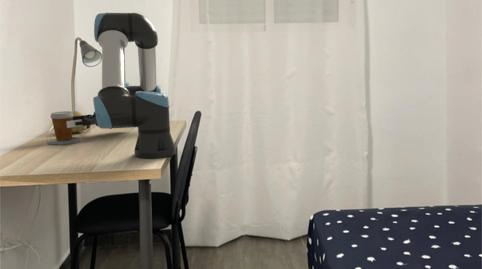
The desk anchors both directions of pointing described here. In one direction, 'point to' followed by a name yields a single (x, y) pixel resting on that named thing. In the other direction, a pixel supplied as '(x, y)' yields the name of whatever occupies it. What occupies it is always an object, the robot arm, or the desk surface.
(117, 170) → the desk surface
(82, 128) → the tan rounded lump
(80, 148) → the desk surface
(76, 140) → the saucer
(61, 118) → the disposable coffee cup
